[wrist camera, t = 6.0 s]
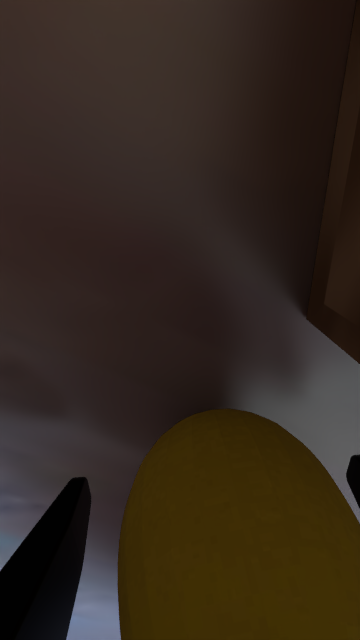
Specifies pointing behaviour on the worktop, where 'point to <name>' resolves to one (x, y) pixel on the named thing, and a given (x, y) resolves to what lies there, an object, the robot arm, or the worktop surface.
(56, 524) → the robot arm
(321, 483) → the lemon
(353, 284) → the tray
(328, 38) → the worktop surface
